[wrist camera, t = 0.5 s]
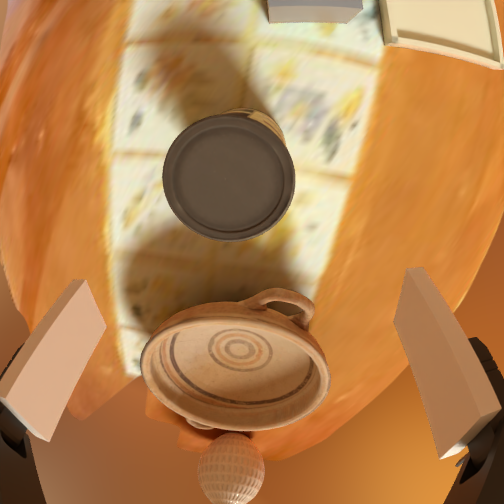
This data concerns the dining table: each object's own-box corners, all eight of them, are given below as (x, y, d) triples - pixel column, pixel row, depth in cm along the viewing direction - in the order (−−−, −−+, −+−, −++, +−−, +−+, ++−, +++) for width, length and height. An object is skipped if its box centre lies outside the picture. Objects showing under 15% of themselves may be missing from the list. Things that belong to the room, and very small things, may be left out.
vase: (275, 431, 66) (272, 510, 46) (254, 452, 73) (249, 519, 54) (211, 418, 64) (197, 500, 45) (199, 441, 72) (187, 509, 52)
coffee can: (190, 174, 37) (149, 218, 24) (216, 96, 32) (183, 97, 19) (267, 202, 38) (265, 259, 26) (299, 126, 33) (317, 144, 21)
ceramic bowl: (197, 214, 39) (176, 251, 30) (374, 294, 44) (392, 340, 35) (140, 368, 56) (125, 406, 48) (264, 411, 61) (263, 449, 52)
